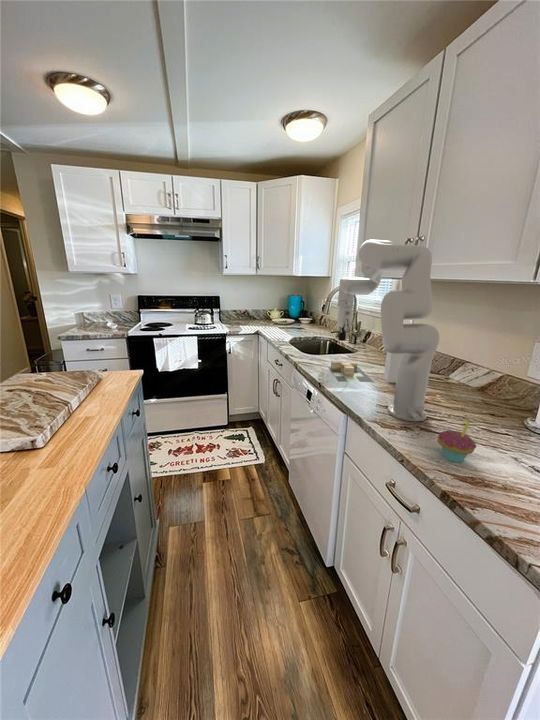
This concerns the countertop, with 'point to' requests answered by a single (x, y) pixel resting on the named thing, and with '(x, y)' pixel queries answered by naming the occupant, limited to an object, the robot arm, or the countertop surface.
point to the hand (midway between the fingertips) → (341, 340)
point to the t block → (344, 367)
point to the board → (358, 376)
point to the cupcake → (456, 444)
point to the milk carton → (392, 366)
